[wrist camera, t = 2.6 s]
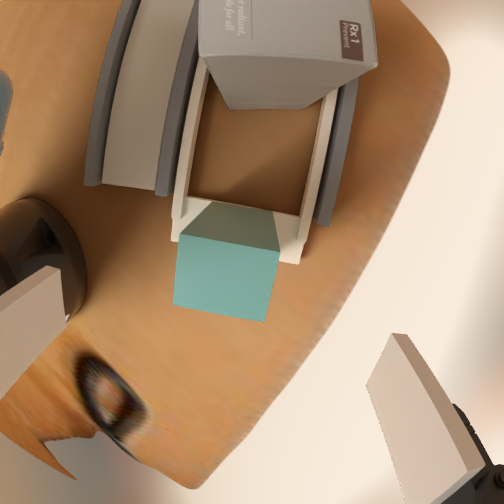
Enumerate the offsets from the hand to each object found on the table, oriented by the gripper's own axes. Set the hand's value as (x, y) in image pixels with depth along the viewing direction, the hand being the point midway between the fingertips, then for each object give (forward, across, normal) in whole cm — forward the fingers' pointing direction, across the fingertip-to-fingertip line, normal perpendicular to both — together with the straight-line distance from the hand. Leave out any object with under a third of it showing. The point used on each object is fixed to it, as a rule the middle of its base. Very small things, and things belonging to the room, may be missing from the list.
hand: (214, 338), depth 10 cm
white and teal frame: (+16, 0, +9) cm, 18 cm away
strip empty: (+16, -10, +13) cm, 23 cm away
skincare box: (+16, 0, +14) cm, 22 cm away
